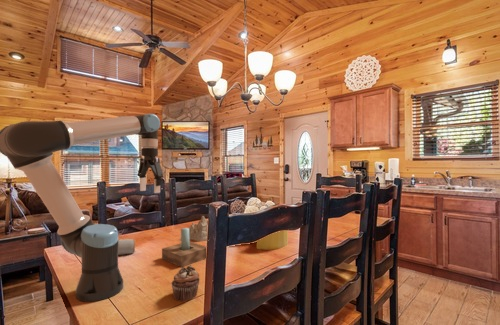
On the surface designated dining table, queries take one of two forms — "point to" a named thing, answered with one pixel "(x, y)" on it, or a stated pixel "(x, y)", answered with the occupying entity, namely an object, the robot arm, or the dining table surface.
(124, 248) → the ceramic mug
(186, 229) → the peg
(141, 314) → the dining table surface
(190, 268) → the cupcake
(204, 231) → the sand castle
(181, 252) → the socket block
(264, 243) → the cheese
